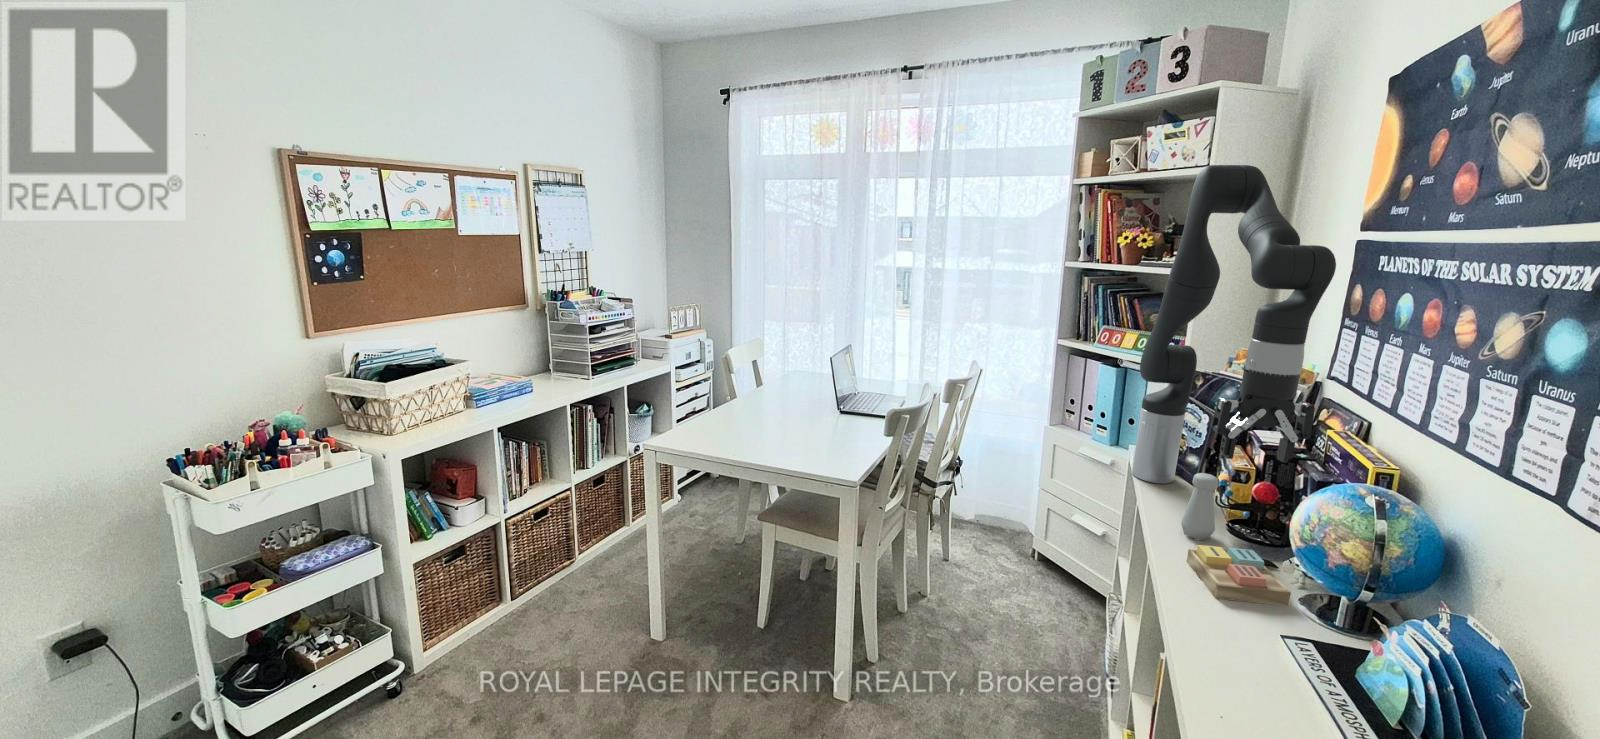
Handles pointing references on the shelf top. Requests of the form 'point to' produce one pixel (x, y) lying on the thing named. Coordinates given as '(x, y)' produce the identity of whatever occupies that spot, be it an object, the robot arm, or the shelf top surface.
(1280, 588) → the button board
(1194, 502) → the salt shaker
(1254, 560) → the tile
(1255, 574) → the tile
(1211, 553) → the tile
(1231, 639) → the shelf top surface
